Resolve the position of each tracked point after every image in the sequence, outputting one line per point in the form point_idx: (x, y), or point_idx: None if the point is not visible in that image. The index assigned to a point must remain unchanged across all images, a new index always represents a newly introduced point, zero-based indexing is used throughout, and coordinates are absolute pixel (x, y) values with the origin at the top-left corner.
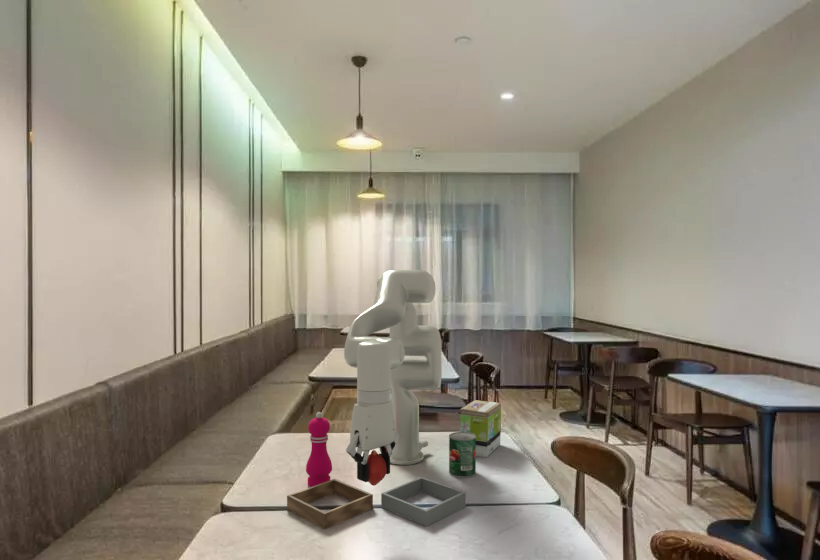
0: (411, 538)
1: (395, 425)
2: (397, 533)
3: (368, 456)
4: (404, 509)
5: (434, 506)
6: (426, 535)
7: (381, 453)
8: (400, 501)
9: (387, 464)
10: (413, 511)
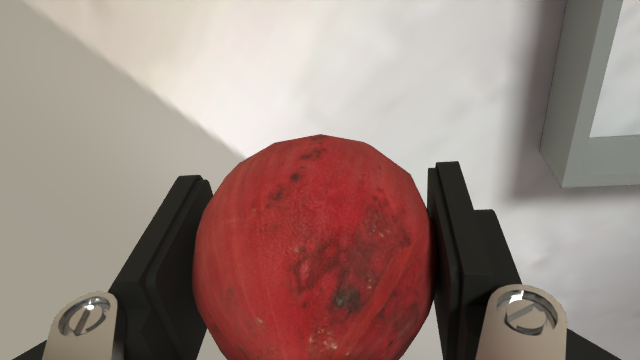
0: (423, 175)
1: None
2: (414, 117)
3: (234, 349)
4: (578, 36)
5: (637, 177)
6: (478, 193)
7: (464, 321)
8: (599, 14)
9: (436, 312)
10: (567, 103)
